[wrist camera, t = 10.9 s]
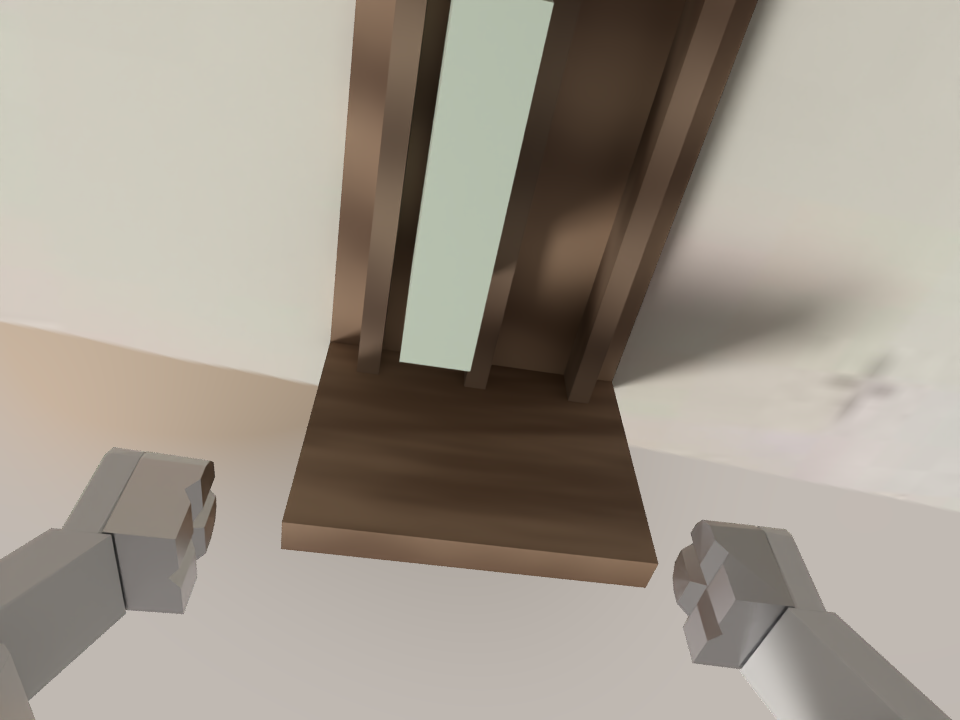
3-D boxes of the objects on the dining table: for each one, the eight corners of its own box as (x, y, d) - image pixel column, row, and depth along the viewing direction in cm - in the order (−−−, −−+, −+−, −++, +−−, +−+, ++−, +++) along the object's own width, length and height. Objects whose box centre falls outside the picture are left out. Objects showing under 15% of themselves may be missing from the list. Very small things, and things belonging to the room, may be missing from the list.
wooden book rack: (387, -366, 20) (314, -533, 11) (839, -247, 22) (1123, -300, 12) (331, 354, 36) (281, 548, 26) (600, 391, 37) (645, 587, 28)
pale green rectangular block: (459, -61, 24) (456, -18, 18) (531, -45, 24) (554, 2, 18) (413, 250, 31) (399, 361, 25) (470, 260, 31) (470, 371, 25)
